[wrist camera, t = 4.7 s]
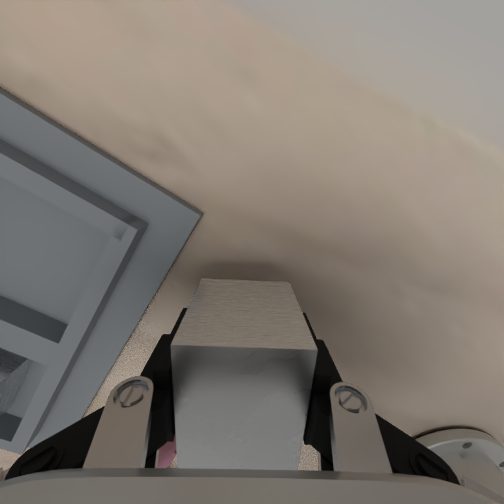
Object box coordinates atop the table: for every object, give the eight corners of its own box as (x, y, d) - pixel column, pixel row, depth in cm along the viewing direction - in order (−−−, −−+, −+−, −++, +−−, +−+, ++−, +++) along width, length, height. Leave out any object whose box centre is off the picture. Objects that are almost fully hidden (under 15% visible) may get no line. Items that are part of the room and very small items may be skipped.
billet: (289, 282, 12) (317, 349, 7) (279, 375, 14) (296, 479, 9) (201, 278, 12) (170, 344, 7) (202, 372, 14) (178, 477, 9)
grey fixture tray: (203, 212, 14) (195, 220, 12) (67, 443, 20) (44, 478, 18) (-51, 56, 11) (-129, 25, 9) (-122, 381, 17) (-180, 414, 15)
